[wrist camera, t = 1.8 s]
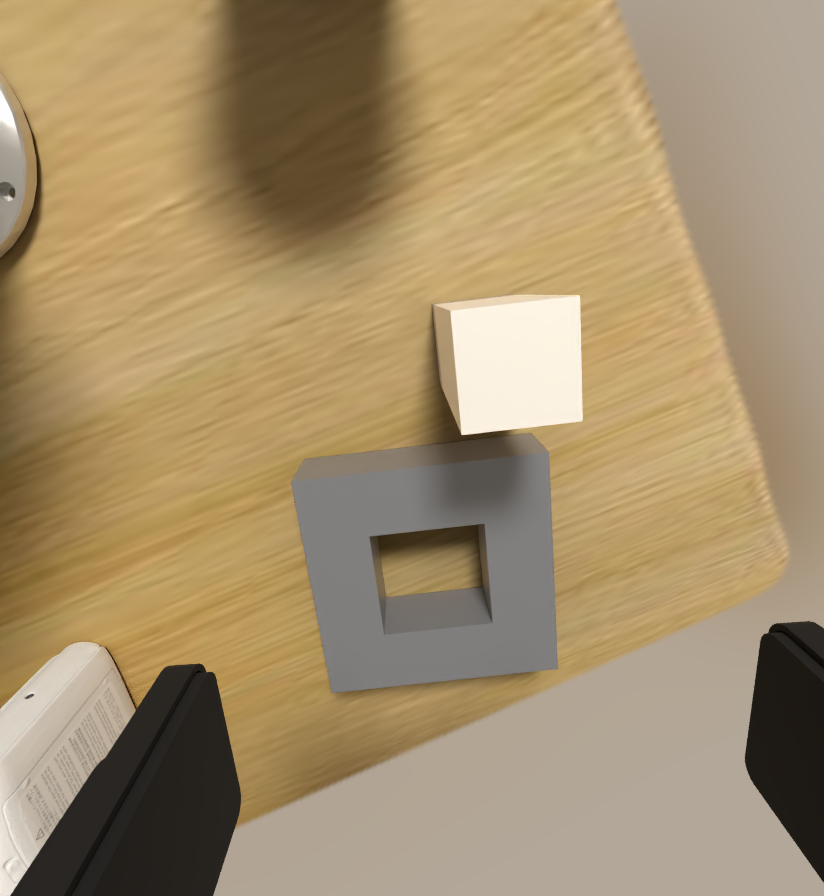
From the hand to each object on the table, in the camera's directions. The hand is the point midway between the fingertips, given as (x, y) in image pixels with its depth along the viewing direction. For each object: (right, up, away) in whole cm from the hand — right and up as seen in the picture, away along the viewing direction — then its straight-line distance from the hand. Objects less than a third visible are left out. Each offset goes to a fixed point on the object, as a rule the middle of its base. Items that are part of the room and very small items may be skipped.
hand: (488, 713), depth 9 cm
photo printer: (-23, -13, +28) cm, 39 cm away
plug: (+2, +11, +21) cm, 24 cm away
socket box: (0, -2, +25) cm, 25 cm away
